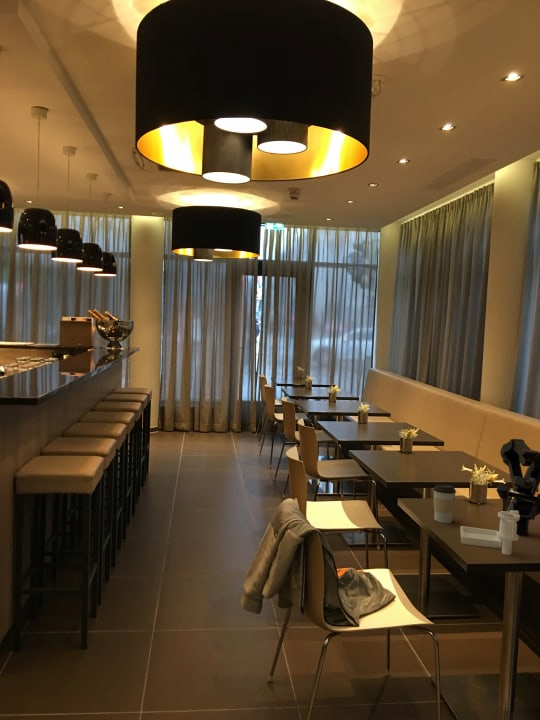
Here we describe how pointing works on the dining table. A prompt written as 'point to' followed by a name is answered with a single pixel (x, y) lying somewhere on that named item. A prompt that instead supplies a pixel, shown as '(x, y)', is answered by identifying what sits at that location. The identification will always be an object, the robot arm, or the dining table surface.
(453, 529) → the dining table surface
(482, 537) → the white square tray
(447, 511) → the coffee cup
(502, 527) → the white flanged column
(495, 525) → the dining table surface
